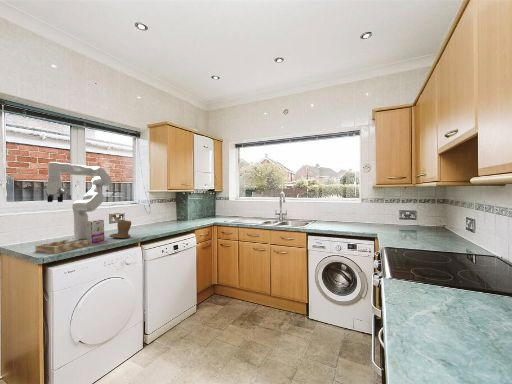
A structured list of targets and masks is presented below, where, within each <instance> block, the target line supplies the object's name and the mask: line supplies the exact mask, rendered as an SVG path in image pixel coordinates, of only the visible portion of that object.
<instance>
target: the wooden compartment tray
mask: <svg viewBox="0 0 512 384" xmlns="http://www.w3.org/2000/svg"><path fill="white" fill-rule="evenodd" d="M69 240H71V238H68V239H63V240H58V241H54V242H53V241H52V242H47V243H43V244H38V245H35V247H34V248H35V250H34V251H35V253H45V254H46V253H48V254H50V253H51V254H57V253H63V252H66V251H71V250H75V249H79V248H83V247H88V246H89V245H88V240H87V239H83V240H79V242H74V243H70V244H65V241H69ZM64 244H65V245H64Z"/></svg>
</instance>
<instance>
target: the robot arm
mask: <svg viewBox="0 0 512 384" xmlns="http://www.w3.org/2000/svg"><path fill="white" fill-rule="evenodd" d="M62 175H72V176H84V177H93V178H92V179H91V189H90V190H88V191H87V192H86V193H85V194H84V195H83V197H82V200H75V201H74V202H73V203H72V213H73V229H74V230H73V231H74V234H73V235H74V237H73V236H72V237H71V240H73V239H79V240H87V225H86V222H87V221H89V215H88V213H89V212H90V213H92V212H94V211H95V210H97V209H98V208H99V206H101V205H102V203H103V202H104V200H105V196H104V194H103V191H102V187H105V186H106V187H107V186H110V185H111V184H112V182H113V181H112V178H111V176H110V175H109V174H108V173H107V171H106V170H105V169H104V168H103V167H101V166H87V165H83V164H71V163H69V162H57V161H50V162H48V164H47V182H46V190H45V191H44V192H45V195H46V198H47V203H53V201H54V198H53V195H57V203H63V199H64V198H63V197H64V195H65V191H66V190H64V189H63V182H62Z"/></svg>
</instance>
